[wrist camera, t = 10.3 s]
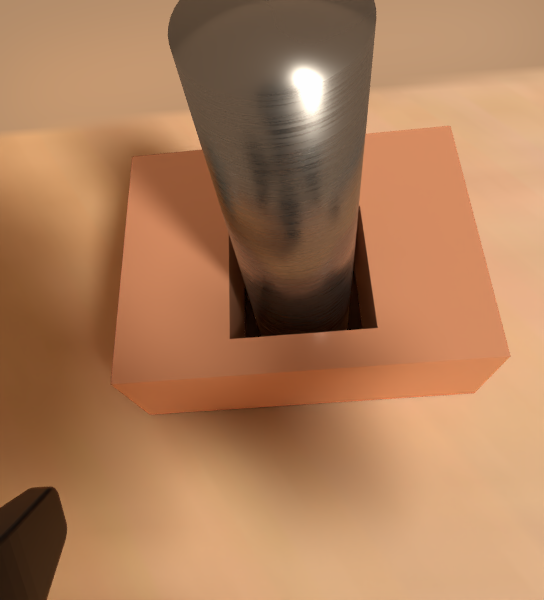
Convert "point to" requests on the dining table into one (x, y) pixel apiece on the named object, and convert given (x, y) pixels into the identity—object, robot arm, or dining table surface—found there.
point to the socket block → (309, 346)
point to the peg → (283, 143)
